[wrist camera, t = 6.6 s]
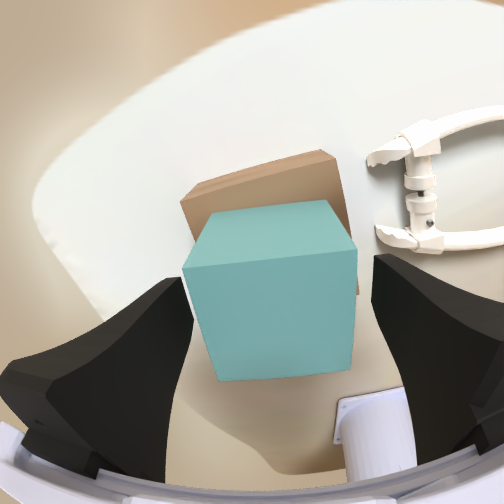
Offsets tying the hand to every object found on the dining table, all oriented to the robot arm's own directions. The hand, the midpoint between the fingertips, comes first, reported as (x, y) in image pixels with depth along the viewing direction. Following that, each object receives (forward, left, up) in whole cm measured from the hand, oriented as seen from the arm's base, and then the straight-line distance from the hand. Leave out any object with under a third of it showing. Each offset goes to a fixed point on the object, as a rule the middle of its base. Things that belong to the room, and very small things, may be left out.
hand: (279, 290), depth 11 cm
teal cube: (0, 0, -3) cm, 3 cm away
